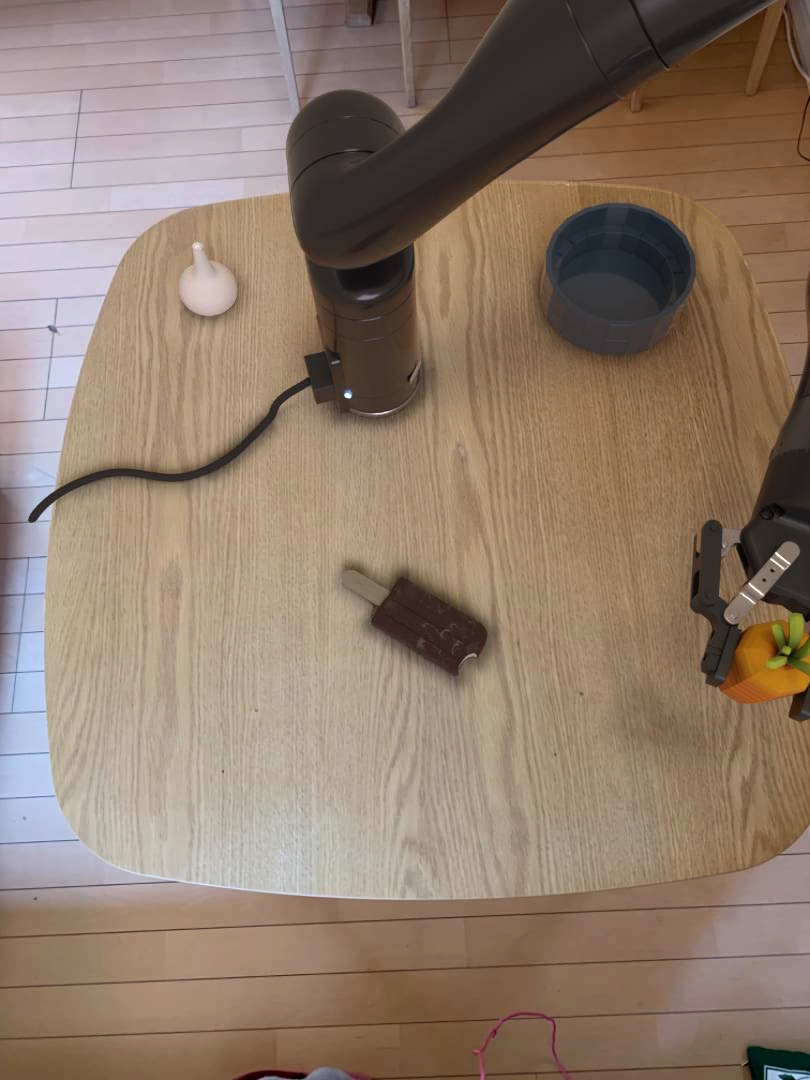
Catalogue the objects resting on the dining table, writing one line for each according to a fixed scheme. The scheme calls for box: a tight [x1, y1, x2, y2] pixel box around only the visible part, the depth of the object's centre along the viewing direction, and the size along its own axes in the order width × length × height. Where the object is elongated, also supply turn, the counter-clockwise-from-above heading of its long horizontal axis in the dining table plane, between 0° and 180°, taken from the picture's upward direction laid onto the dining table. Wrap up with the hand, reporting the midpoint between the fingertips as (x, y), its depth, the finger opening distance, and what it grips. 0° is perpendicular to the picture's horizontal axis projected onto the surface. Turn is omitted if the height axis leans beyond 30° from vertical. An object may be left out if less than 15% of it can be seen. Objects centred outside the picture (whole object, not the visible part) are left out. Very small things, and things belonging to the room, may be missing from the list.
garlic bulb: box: [178, 241, 238, 317], centre depth 90 cm, size 6×6×8 cm
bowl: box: [539, 202, 697, 356], centre depth 90 cm, size 15×15×6 cm
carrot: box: [717, 612, 810, 705], centre depth 56 cm, size 5×5×15 cm
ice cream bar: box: [341, 569, 488, 677], centre depth 80 cm, size 5×2×15 cm
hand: (757, 700), depth 54 cm, fingers closed on carrot, 5 cm apart
